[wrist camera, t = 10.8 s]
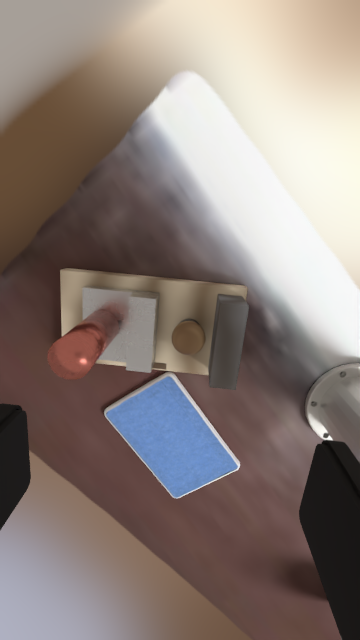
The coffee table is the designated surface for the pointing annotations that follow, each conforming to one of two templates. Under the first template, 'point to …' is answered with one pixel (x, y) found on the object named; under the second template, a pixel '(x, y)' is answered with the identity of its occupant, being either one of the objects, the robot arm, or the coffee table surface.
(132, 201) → the coffee table surface
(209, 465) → the tablet computer
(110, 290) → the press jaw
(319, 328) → the coffee table surface
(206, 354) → the base
